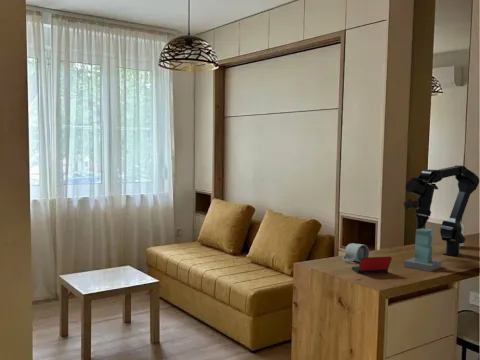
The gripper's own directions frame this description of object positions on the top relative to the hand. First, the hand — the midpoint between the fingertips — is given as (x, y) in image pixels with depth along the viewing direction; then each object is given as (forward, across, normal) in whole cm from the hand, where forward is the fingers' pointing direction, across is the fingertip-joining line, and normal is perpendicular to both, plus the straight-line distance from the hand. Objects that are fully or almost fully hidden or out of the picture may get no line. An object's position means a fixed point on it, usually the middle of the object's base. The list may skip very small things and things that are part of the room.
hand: (418, 231), depth 204 cm
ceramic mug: (+19, +12, -23) cm, 32 cm away
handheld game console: (+21, +28, -15) cm, 38 cm away
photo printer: (+3, -38, +20) cm, 43 cm away
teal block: (+12, +12, +4) cm, 18 cm away
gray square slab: (+14, +12, +4) cm, 19 cm away
